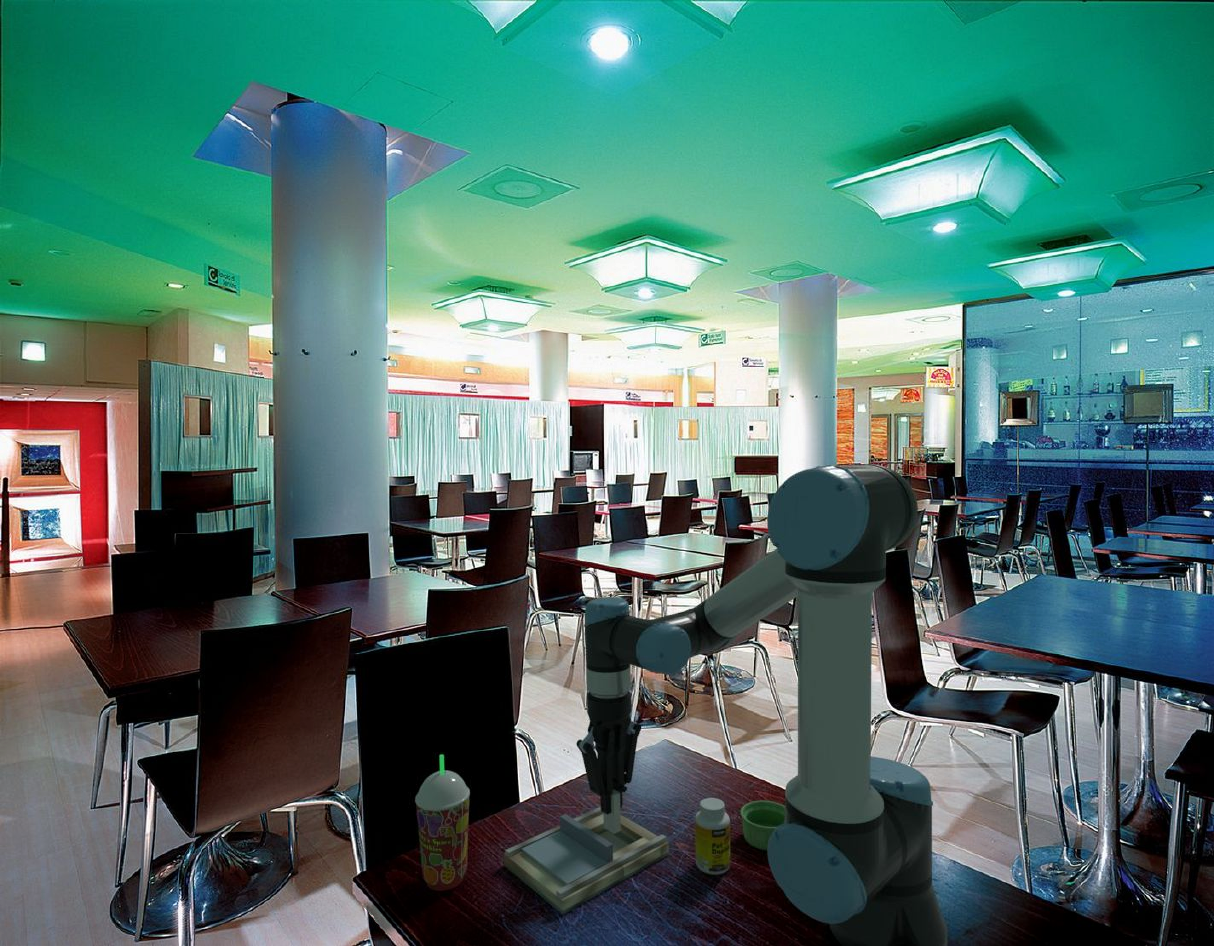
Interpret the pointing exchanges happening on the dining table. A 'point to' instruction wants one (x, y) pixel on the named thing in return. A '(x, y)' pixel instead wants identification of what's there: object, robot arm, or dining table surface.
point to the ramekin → (761, 821)
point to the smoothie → (443, 828)
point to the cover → (570, 851)
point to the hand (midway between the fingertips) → (612, 828)
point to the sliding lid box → (629, 857)
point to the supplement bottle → (712, 837)
